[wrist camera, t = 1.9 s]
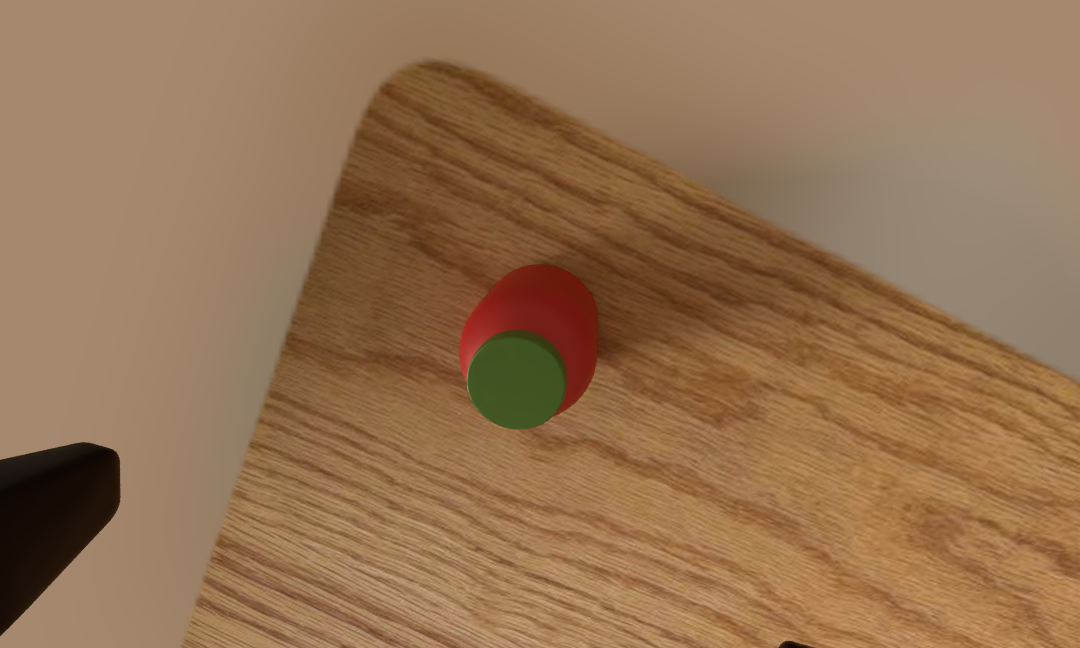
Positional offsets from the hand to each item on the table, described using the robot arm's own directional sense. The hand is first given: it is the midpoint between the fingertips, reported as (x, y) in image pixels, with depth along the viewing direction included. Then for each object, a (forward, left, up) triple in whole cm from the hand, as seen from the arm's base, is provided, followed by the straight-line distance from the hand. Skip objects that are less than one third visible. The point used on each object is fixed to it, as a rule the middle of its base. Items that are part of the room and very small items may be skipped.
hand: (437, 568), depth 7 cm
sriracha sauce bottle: (0, 0, -11) cm, 11 cm away
